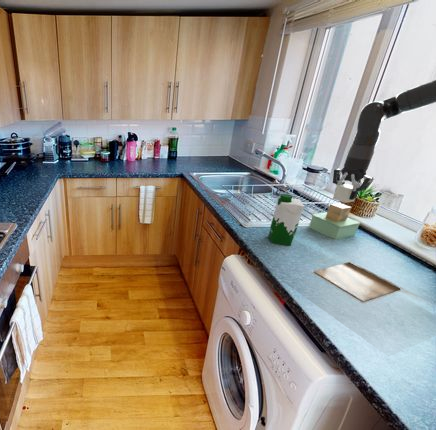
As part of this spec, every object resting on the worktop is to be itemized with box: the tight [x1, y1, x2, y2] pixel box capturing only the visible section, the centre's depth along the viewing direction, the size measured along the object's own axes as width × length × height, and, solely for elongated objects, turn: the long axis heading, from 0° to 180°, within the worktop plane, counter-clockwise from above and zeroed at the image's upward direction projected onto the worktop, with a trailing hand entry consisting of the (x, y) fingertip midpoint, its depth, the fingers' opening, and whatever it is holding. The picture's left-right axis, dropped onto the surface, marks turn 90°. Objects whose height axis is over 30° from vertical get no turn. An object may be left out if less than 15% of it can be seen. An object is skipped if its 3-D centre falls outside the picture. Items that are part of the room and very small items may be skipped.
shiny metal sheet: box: [313, 261, 401, 303], centre depth 96 cm, size 18×16×1 cm
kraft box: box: [326, 202, 352, 222], centre depth 121 cm, size 6×5×6 cm
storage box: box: [308, 211, 362, 241], centre depth 124 cm, size 13×13×8 cm
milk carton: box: [268, 193, 305, 247], centre depth 116 cm, size 9×9×20 cm
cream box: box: [332, 183, 356, 204], centre depth 118 cm, size 6×5×6 cm
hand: (344, 196), depth 118 cm, fingers closed on cream box, 5 cm apart
